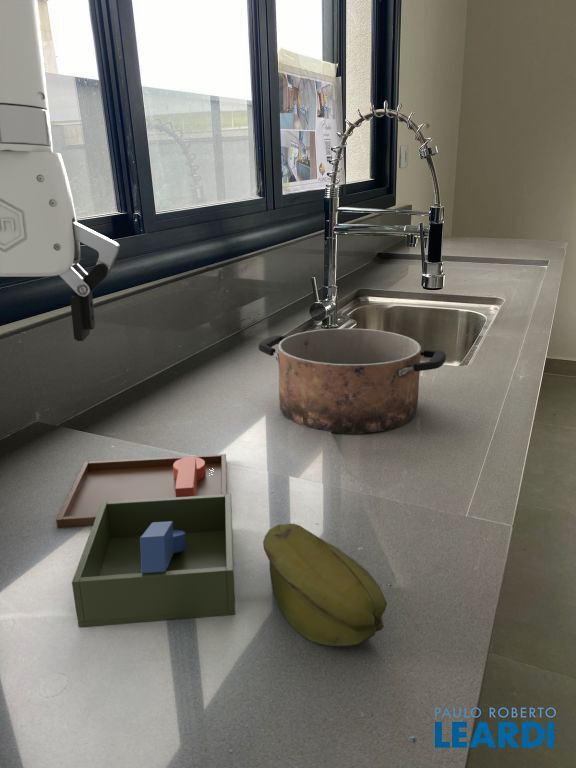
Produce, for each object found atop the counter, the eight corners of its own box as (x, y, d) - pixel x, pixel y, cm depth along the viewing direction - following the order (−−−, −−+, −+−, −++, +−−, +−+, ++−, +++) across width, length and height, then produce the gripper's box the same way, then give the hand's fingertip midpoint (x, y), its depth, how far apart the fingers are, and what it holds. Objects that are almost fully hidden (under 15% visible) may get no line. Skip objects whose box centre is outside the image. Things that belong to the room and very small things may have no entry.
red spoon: (168, 513, 67) (165, 489, 66) (175, 468, 78) (173, 447, 77) (204, 510, 68) (202, 487, 67) (206, 467, 78) (204, 445, 77)
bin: (78, 627, 51) (71, 582, 49) (106, 539, 63) (101, 501, 62) (235, 614, 52) (233, 570, 51) (232, 531, 65) (230, 493, 63)
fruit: (237, 650, 48) (233, 580, 46) (274, 562, 59) (272, 502, 57) (381, 673, 46) (385, 600, 44) (392, 577, 57) (395, 515, 55)
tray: (57, 531, 65) (55, 519, 64) (85, 471, 78) (84, 461, 78) (227, 520, 67) (227, 508, 66) (226, 463, 80) (225, 453, 80)
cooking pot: (234, 419, 95) (231, 353, 91) (289, 378, 114) (289, 322, 111) (426, 449, 83) (431, 375, 80) (451, 397, 103) (456, 336, 99)
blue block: (129, 574, 50) (127, 538, 50) (147, 547, 61) (146, 517, 61) (177, 571, 50) (176, 534, 51) (187, 544, 61) (186, 514, 61)
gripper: (-138, 127, 45) (-94, 350, 50) (101, 132, 46) (118, 347, 52) (-88, 134, 52) (-55, 329, 57) (118, 138, 53) (131, 327, 59)
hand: (27, 337), depth 55 cm, fingers open, 9 cm apart
